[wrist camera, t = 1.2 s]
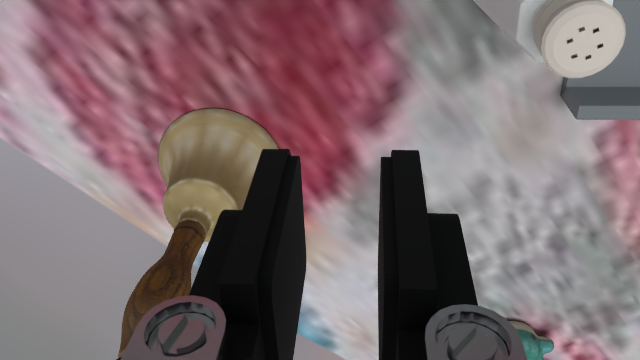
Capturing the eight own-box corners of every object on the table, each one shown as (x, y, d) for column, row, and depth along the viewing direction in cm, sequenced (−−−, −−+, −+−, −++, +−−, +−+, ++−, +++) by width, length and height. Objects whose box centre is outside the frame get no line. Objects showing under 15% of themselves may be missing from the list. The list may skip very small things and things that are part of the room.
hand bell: (132, 149, 37) (-5, 342, 23) (226, 82, 33) (130, 261, 20) (216, 233, 40) (139, 444, 27) (309, 180, 37) (274, 388, 23)
